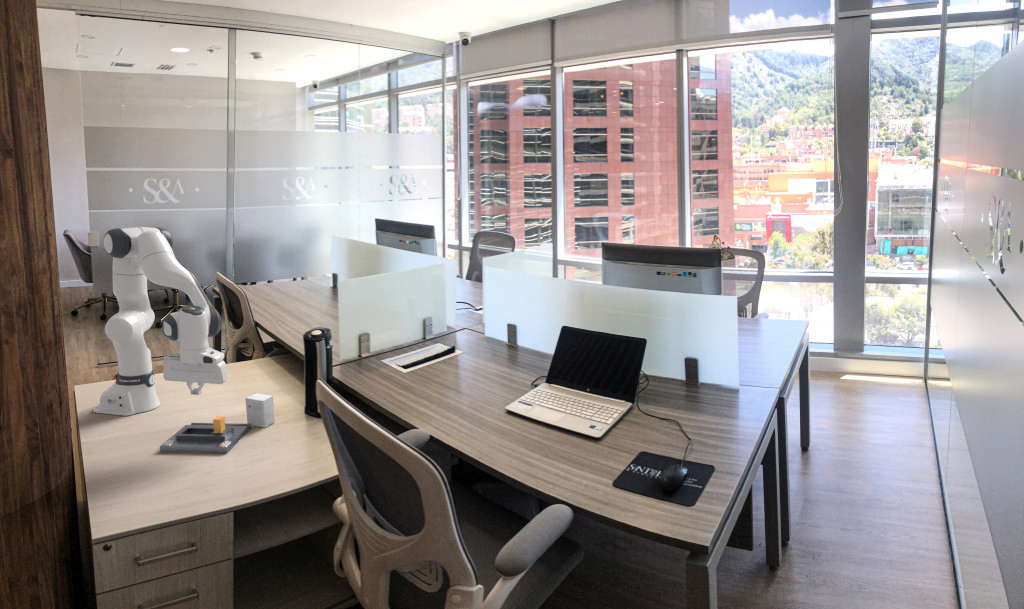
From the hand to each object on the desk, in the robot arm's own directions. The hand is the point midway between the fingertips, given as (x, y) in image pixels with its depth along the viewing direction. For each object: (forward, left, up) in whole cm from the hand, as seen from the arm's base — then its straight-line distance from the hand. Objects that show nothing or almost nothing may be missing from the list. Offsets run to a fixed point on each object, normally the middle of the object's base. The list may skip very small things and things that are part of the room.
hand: (196, 394), depth 220 cm
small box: (+15, +16, -17) cm, 28 cm away
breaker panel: (+2, 0, -17) cm, 17 cm away
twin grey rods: (+2, +12, -17) cm, 21 cm away
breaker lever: (+7, 0, -15) cm, 17 cm away
